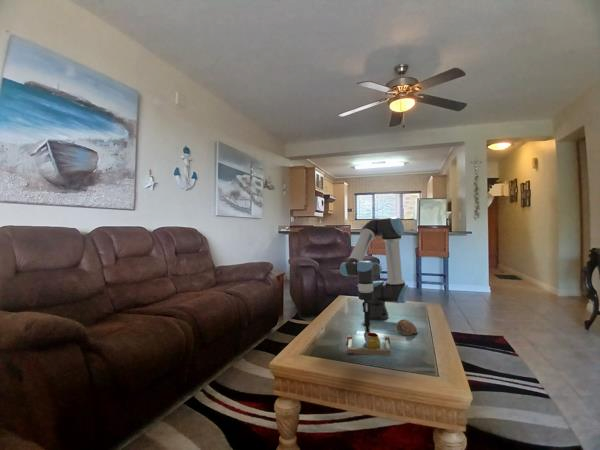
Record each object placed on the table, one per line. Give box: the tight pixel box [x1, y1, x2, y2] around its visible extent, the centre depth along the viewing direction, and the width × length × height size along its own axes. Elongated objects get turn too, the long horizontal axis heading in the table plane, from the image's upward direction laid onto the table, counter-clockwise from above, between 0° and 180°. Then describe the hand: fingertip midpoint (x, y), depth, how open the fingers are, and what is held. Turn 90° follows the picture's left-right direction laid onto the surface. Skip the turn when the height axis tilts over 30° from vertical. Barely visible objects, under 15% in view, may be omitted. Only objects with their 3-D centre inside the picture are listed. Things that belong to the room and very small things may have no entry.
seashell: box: [396, 318, 418, 336], centre depth 163 cm, size 10×9×10 cm
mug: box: [363, 331, 382, 349], centre depth 147 cm, size 12×7×7 cm, turn 13°
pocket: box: [346, 334, 391, 356], centre depth 145 cm, size 16×21×3 cm
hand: (367, 338), depth 153 cm, fingers closed
